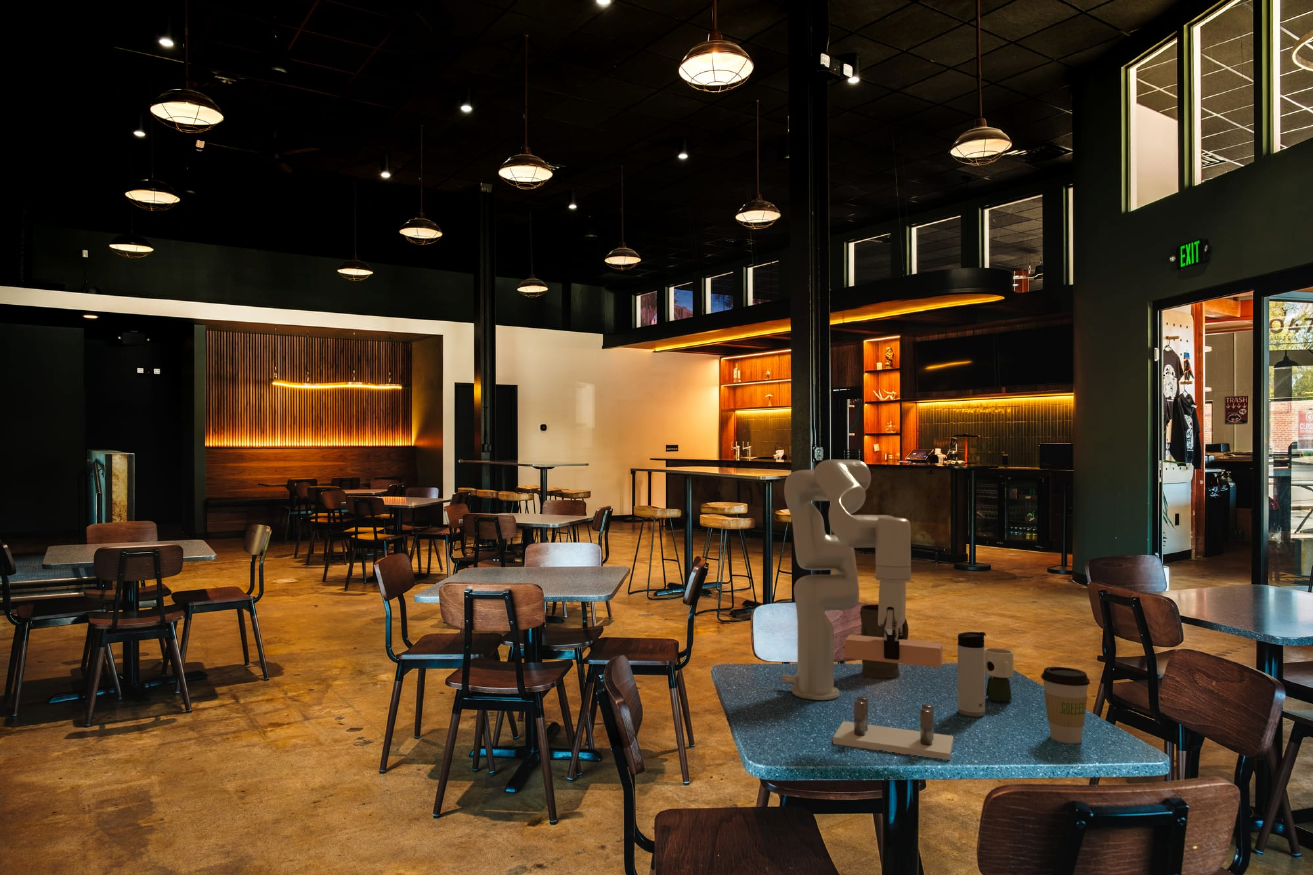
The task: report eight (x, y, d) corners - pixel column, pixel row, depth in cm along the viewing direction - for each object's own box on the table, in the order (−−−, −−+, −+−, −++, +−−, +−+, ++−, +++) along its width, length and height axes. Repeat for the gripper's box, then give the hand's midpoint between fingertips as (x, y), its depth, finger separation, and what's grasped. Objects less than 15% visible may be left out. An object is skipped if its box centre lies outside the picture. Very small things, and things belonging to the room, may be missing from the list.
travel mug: (988, 718, 192) (988, 635, 193) (960, 716, 194) (959, 633, 194) (983, 710, 198) (983, 630, 199) (955, 708, 200) (955, 628, 200)
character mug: (977, 694, 213) (976, 645, 213) (1003, 694, 213) (1003, 646, 213) (993, 706, 202) (993, 655, 202) (1021, 706, 202) (1021, 655, 202)
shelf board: (845, 657, 176) (845, 639, 176) (849, 652, 181) (849, 634, 181) (940, 667, 167) (940, 648, 168) (942, 661, 173) (942, 643, 173)
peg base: (833, 743, 173) (833, 736, 173) (843, 727, 184) (843, 721, 184) (950, 760, 163) (949, 753, 163) (953, 742, 174) (953, 735, 174)
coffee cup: (1089, 749, 171) (1088, 679, 172) (1039, 740, 176) (1038, 672, 177) (1092, 736, 179) (1091, 669, 180) (1044, 728, 185) (1043, 663, 185)
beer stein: (878, 681, 225) (877, 610, 226) (852, 672, 235) (852, 604, 235) (917, 675, 232) (917, 606, 233) (891, 667, 242) (891, 601, 243)
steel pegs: (853, 735, 174) (853, 702, 174) (857, 727, 180) (857, 696, 180) (931, 746, 168) (931, 712, 168) (934, 737, 173) (933, 705, 173)
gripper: (881, 568, 185) (881, 646, 184) (869, 577, 169) (870, 662, 168) (914, 570, 181) (915, 649, 181) (906, 579, 166) (907, 666, 165)
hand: (893, 654), depth 174 cm, fingers closed on shelf board, 6 cm apart
